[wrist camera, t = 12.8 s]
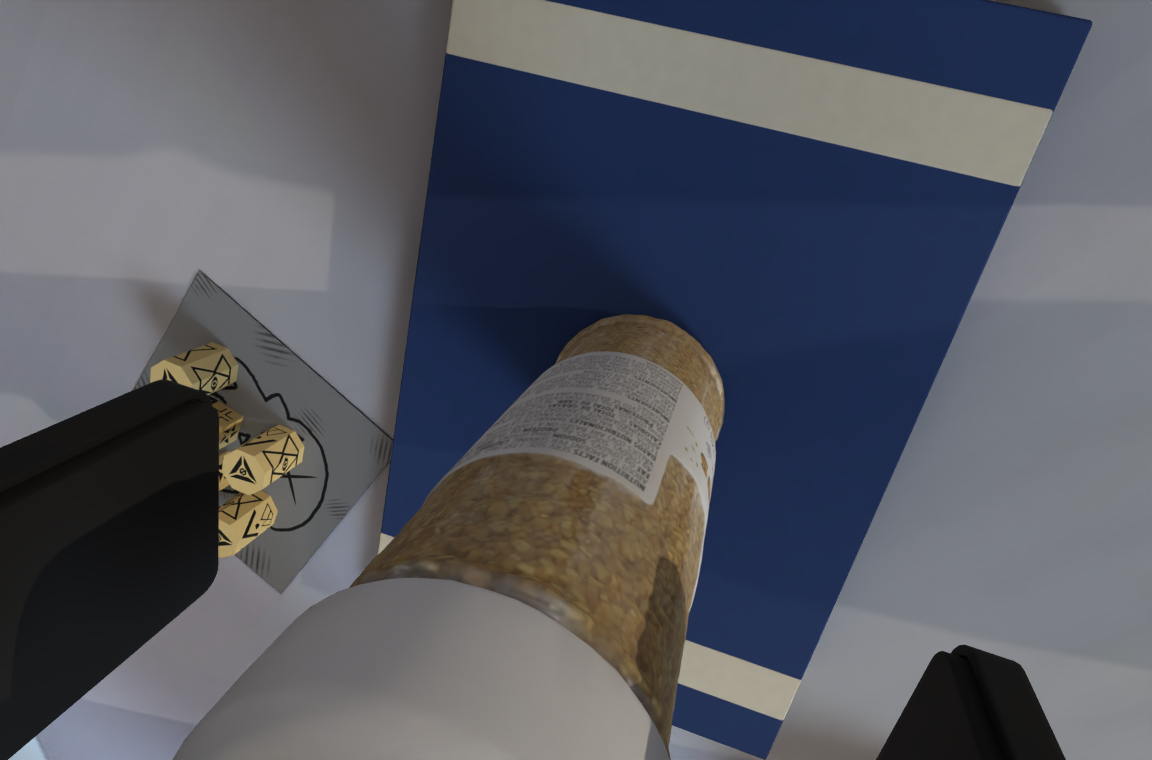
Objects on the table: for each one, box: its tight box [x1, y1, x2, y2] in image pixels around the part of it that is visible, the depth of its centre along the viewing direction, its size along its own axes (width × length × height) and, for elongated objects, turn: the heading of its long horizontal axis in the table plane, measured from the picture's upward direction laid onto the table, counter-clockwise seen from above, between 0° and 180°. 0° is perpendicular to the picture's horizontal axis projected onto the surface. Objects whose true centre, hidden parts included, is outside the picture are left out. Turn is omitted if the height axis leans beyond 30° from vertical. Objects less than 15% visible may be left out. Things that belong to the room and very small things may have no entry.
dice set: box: [149, 342, 304, 558], centre depth 22 cm, size 5×5×2 cm
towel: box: [378, 0, 1092, 759], centre depth 18 cm, size 20×13×1 cm, turn 168°
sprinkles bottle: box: [173, 314, 725, 760], centre depth 12 cm, size 5×5×14 cm
